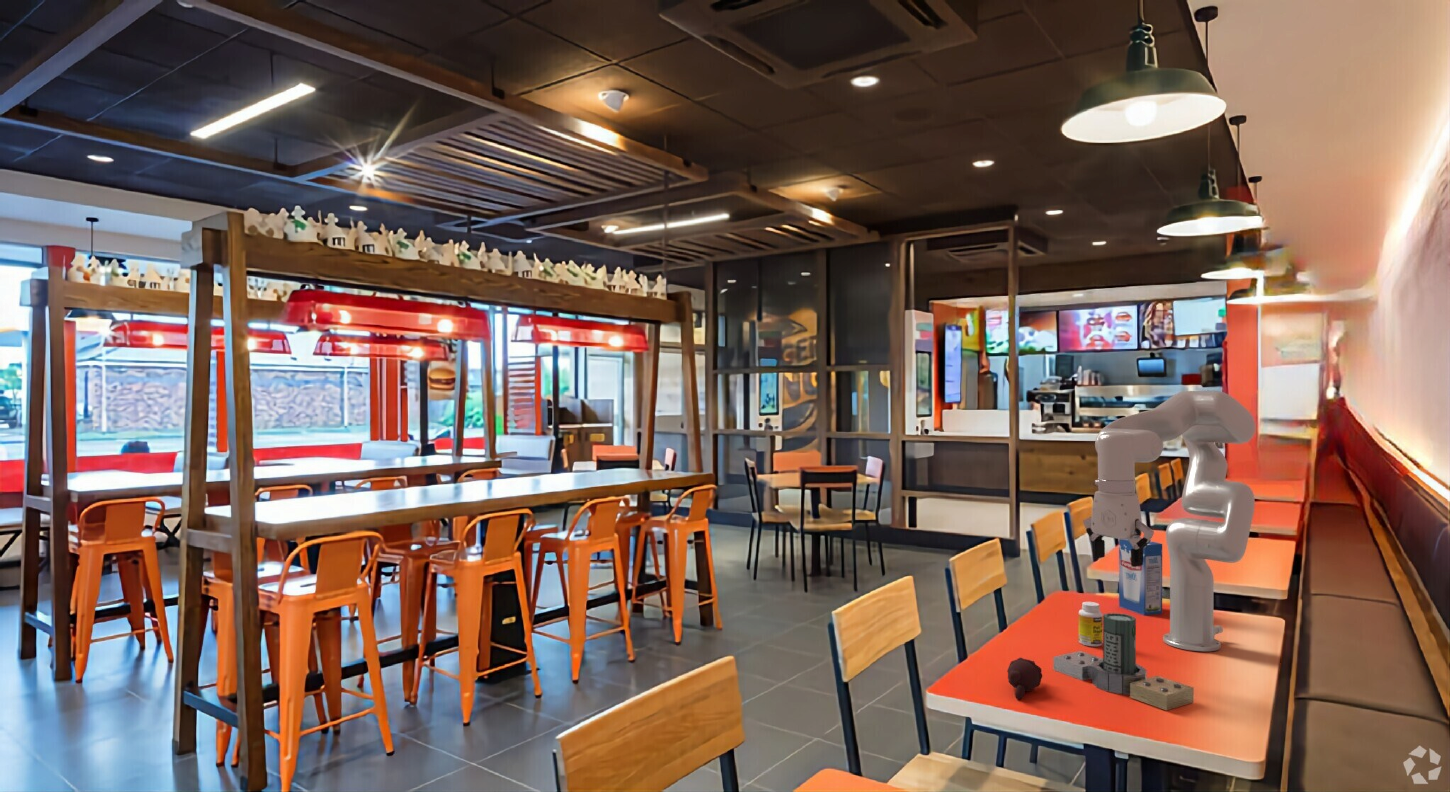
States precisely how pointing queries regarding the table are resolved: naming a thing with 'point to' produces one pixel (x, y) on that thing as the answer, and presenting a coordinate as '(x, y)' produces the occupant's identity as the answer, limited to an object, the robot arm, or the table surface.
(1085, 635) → the supplement bottle
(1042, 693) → the table surface
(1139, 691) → the tan studded block
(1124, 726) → the table surface
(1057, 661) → the leaf fixed
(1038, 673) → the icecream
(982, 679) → the table surface
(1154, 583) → the milk carton
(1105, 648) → the can
